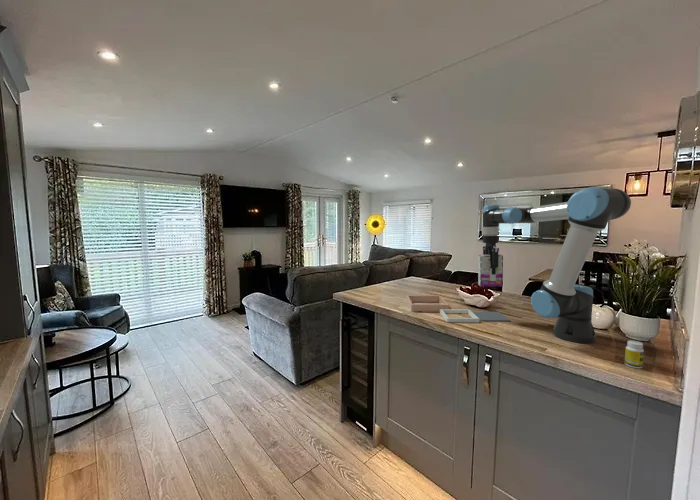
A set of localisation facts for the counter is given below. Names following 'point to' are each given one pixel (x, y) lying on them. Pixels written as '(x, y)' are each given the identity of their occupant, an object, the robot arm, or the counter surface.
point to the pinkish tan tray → (427, 307)
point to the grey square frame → (463, 311)
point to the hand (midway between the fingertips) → (490, 279)
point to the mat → (491, 316)
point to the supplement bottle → (634, 354)
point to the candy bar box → (485, 272)
